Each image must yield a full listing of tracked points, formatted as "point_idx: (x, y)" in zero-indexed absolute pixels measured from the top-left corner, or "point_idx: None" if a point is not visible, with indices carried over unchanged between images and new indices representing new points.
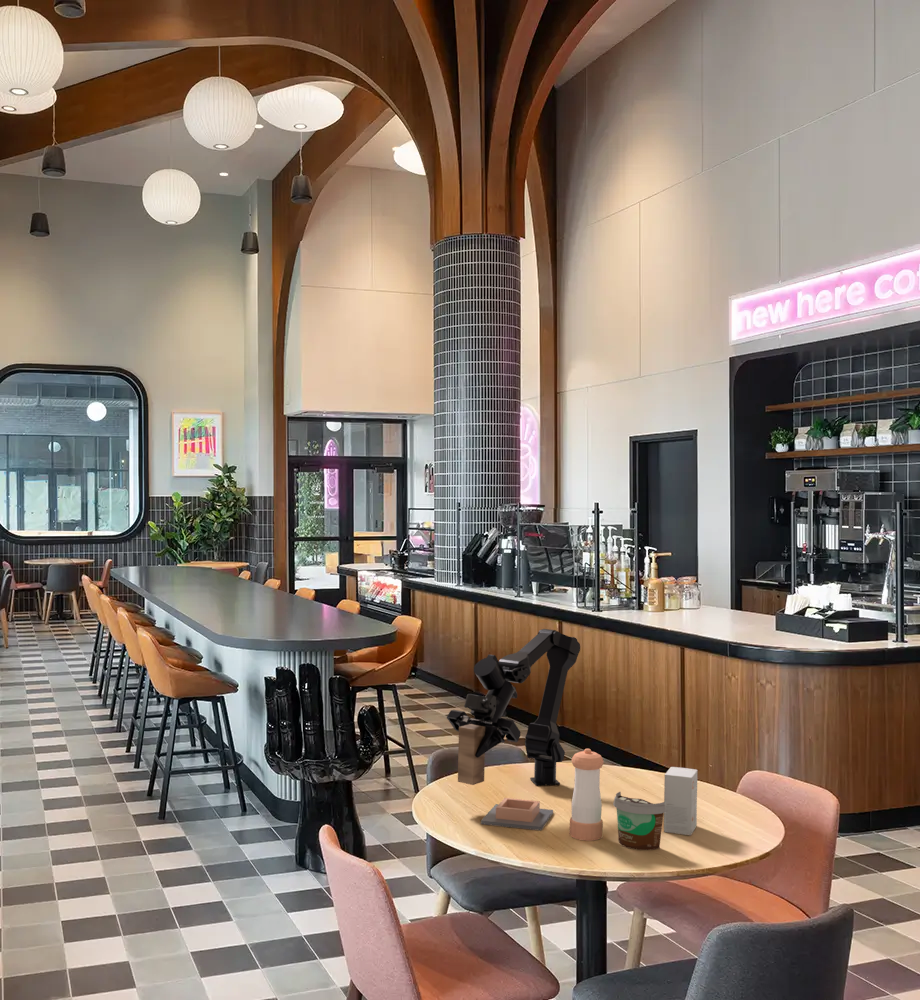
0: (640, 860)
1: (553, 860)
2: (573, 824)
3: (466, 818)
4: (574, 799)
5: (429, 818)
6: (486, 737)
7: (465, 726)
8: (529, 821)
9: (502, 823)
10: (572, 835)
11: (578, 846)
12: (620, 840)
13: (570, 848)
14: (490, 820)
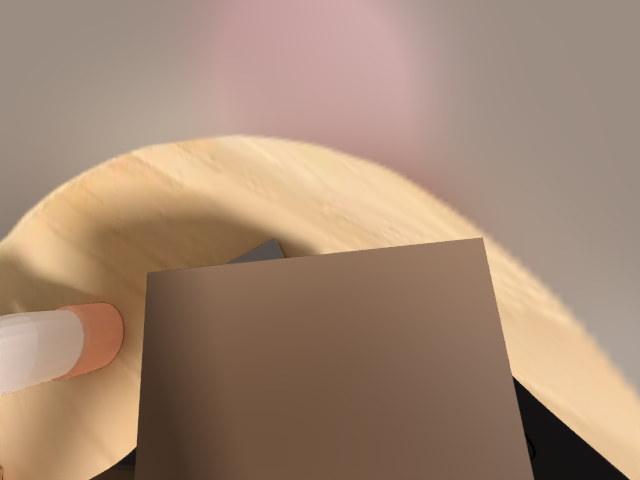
0: (5, 286)
1: (94, 188)
2: (79, 306)
3: (326, 247)
4: (5, 321)
5: (386, 183)
6: None
7: (423, 381)
8: None
9: (233, 261)
10: (107, 305)
11: (88, 271)
12: None
13: (94, 253)
14: (259, 253)
